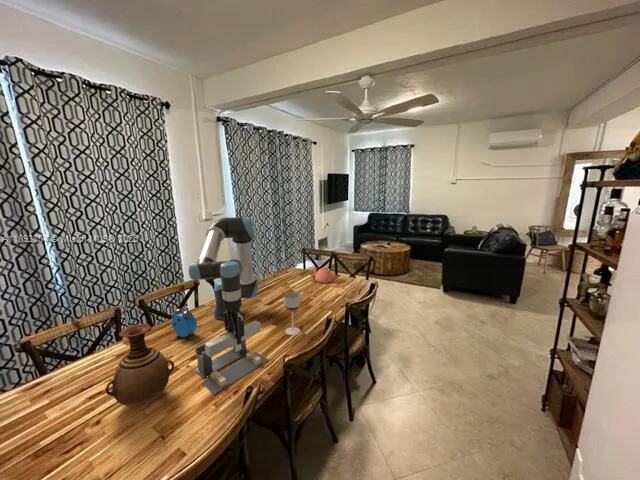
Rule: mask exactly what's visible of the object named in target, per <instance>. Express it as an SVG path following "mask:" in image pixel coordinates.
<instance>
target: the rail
mask: <svg viewBox="0 0 640 480" xmlns="http://www.w3.org/2000/svg"><path fill="white" fill-rule="evenodd" d="M260 332H261V322H260V321H257V320H253V321H251V322H249V323H247V324H244V336H243V337H241V341H243V340H245V339H246V340H247V339H248V338H251V337H252V336H255V335H257V334H258V333H260ZM234 337H235V332H234V331H231V332H229V333H228V332H227V333H225V334H222V335H221V336H219V337H217V338H215V339H212V340H210V341H208V342H206V343H204V344H205V351H206V354H207V355H208V356H209V357H211V358H213V356H216V355H217V354H220V353H221V352H223V351H226V350H227V349H229V348H230V347H231V346H233V345H235V341H234Z"/></svg>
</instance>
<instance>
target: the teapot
mask: <svg viewBox="0 0 640 480" xmlns="http://www.w3.org/2000/svg"><path fill="white" fill-rule="evenodd" d="M312 268H313V274H314V276H315V281H316V282H318V283H320V284H330V283H331V282H332V281H333V280H334V277H335V276H336V271H334V270H333V271H331V269H330V268H327V266H324V267H321V268H319V269H318V270H317V268H316V266H314V265H312ZM329 282H330V283H329Z"/></svg>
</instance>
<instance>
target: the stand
mask: <svg viewBox="0 0 640 480" xmlns="http://www.w3.org/2000/svg"><path fill="white" fill-rule="evenodd" d="M246 340H247V339H245V340H243V341H241V348H242V349H241V350H239V351H237V352H236V351H235V346H234V347H232V348H231V350H229V351H226V352H225V353H223V354H221V355H219V356H217V357H215V358H214V359H213V357H209V356H208V355H207V354H206V351H205V344H206V343H202V344H199V345H198V346H196V347H195V348H194V350H195V353H196V359H197V360H196V361H197V367H196V368H195V369H194V372H195V371H196V373H197V375H199V377H201V376H202V377H203V378H204V379H206V378H208V377H210V376H211V373H213V372H215V371H217V372H220V371H221V370H223V368H226V367H227V366H230V365H231V364H232V363H234V362H237V361H238V360H239V359H240V360H241V359H242V358H243V357H245V356H246V353H248V352H250V350H249V349H247V342H246ZM209 375H210V376H209ZM207 376H208V377H207ZM202 377H201V378H202ZM205 377H206V378H205ZM203 378H202V379H203Z"/></svg>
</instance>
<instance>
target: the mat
mask: <svg viewBox="0 0 640 480" xmlns="http://www.w3.org/2000/svg"><path fill="white" fill-rule="evenodd" d="M253 353H254V354H255V355H257V356H259V357H260V358H261V363H260V364H258V365H255V364H254V363H252V362H251V361H249V360H248V359H246V357H245V356H244V358H241V359H240V360H239V361H236V362H235V363H234V364H232V365H229V366H228V367H227V368H226V367H225V369H222V370H220V371H218V373H219V374H221V375H222V376H223V377H224V378H226V383H227V384H226V385H225V386H223V387H222V388H221V387H220V386H219V385H218V384H217V383H215V382H214V381H213V380H212V379H211V377H209V378H208V379H206V380H205V379H204V381H202V382H201V385H203V387H205V386H206V387H207V388H208V389H209V390H210V391H211V392H212V393H213V394H212V393H211V392H210V391H209V390H208V389H207V388H206V387H205V388H206V389H207V390H208V391H209V392H210V393H211V394H212V395H214V394H215V395H216V393H217V392H218V393H220V392H221V391H223V390H225V389H226V388H228V387H229V386H231V385H233V384H234V383H236V382H237V381H239V380H241V379H242V378H243V377H245V376H246V375H248V374H250V373H252V372H253V371H255V370H256V369H258V368H260V367H261V366H263V365H264V364H266V363H267V362H269V360H270V359H268V358H266V357H265V356H263V355H262V354H261V353H258V352H257V351H254V352H253ZM235 381H236V382H235ZM232 383H233V384H232ZM227 386H228V387H227ZM225 387H226V388H225ZM224 388H225V389H224ZM222 389H223V390H222ZM219 391H220V392H219ZM218 393H217V394H218Z"/></svg>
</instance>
